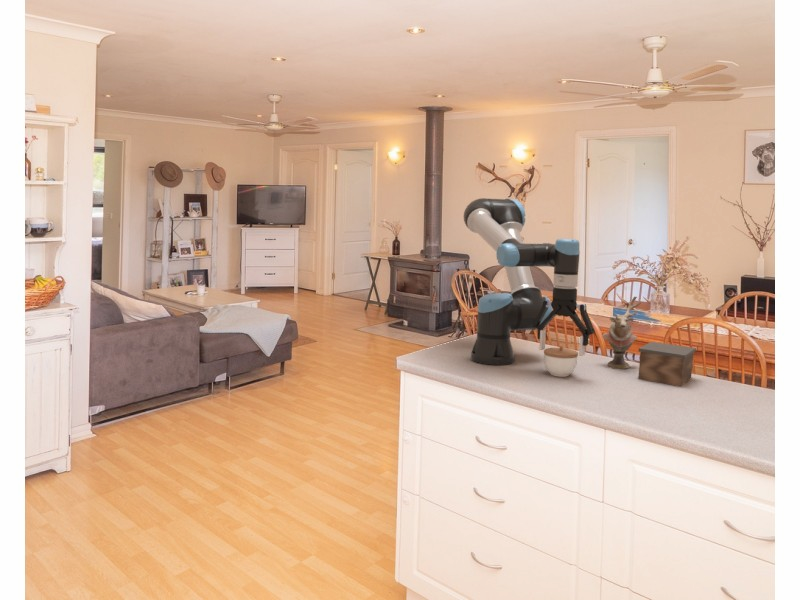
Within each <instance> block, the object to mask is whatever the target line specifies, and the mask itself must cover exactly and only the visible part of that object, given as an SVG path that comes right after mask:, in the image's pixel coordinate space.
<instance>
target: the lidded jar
mask: <svg viewBox="0 0 800 600" xmlns="http://www.w3.org/2000/svg"><path fill="white" fill-rule="evenodd" d="M543 353H544V355H543V360H544V361H543V362H544V367H545V369H546V370H547V371H548V373H549V375H550V376H555V377H558V378H559V377H563V378H564V377H565V378H566V377H569V376H570V375H571V374H572V373H573V372H574V371H575V368H576V366H577V364H578V356H579V351H577V350H575V349H571V348H565V347H563V345H559V347H548V348H545V349H543Z"/></svg>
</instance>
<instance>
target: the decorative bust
mask: <svg viewBox="0 0 800 600" xmlns="http://www.w3.org/2000/svg"><path fill="white" fill-rule="evenodd" d="M637 298H638V297H637V296H633V298H632V299H631V301H630V302H629V304H628V306H627V309H626V312H625V313H624V314H618V313H617V314H616V316H615V317H614V316H610V317H609V321H610V322H611V323H610V325H609V328H608V332H605V333H603V334H602V335H601V336H602V338H603V339H604V340H605V341H607V342H608V344H609V346H610V347H611V348H612V354H614V356H613V359H612V360H610V361H609V362H607V363H606V364H607V366H608V368H612V369H620V370H625V369H627V370H628V369H629V368H630V367H631V366H630V364H629V363H628V362H626V361H625V359H624V358H625V357H624V356H625V355H626V354H627V351H628V350H629V349H630V348H631V346H632V344H633V343H634V342H635V341H636V340H637V338H638V336H637V334H635V333H632V325H631V324H630V323H632V322H633V321H634V318H631V317H633V316H635V315H637V312H632V313H631V311H632V310H634V309H635V308H637V307H639V306H640V305H641V304H642V301H639V302H636V304H634V303H635V301H636V300H637Z"/></svg>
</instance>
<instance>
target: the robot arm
mask: <svg viewBox="0 0 800 600" xmlns="http://www.w3.org/2000/svg"><path fill="white" fill-rule="evenodd" d="M463 222H464V224H465V226H466V228H467V229H469V230H470V231H471V232H473V233H475V234H478V235H479V236H480V237H481V239H483V240H484V241H485V242H486V243H487V244H488V245H489V246H490V247H491V248H492V249H493V250H494V251H495V253H496V255H495V256H496V260H497V263H498V264H499V265H500V266H501V267H504V269H505V273H506V276H507V280H508V284H509V288H510V293H507V292H501V293H499V292H497V293H496V292H494V293H488V294H485V295H482V296H481V297H480V298H479V299H478V305H477V323H476V324H477V325H476V338H475V342H474V345H473V347H472V350H471V352H470V360H471V359H472V360H471V361H473V362H475V361H476V362H475V363H478V362H479V364H483V363H484V365H492V366H494V365H496V366H498V365H499V366H501V365H504V366H505V365H509V364H514V362H515V353H514V349H513V345H512V342H511V331H526V330H527V331H531V330H532V331H537V340H539V346H538V348H539V349H538V350H539V351H544V350H545V349H546V334H547V329H545V328H546V327H547V326H548V325H549V323H550V322H551V321H552V320H553V319H554V318H555V317H556V316H557V317H562V316H563V317H565V318H567V317H569V318H570V319H571V320H572V321H573V323H574V324H575V325H576V327H577V329H578V330H579V331H580V333H581V335H580V336H579V337H580V338H579V351H578V356H579V357H583V356H585V354H586V353H585V352H586V350H585V349H586V346H588V345H589V336H590V335H594V334H595V333H596V330H595V329H594V325H593V323H592V321H591V318H590V316H589V313H588V311H587V304H586V303H581V304H577V299H578V289H577V287H578V286H579V285H578V282H579V281H578V280H579V265H580V253H581V251H580V241H579V240H578V239H576V238H557V239H556V240H555V244H554V243H549V242H548V243H547V242H544V243H524V242H523V239H522V236H521V235H522V234H521V233H522V230H523V228H524V226H525V222H526V210H525V208H524V206H523V204H522V203H521V202H520V201H519V200H517V199H511V198H505V199H504V198H503V199H502V198H484V197H483V198H482V197H481V198H477V199H475V200H472V201H471V202H470V203H469V204H468V205H467V206H466V207H465V209H464V212H463ZM530 267H551V268H553V280H552V281H553V286H554V287H553V289H552V301H551V299H550V298H549V297H548V296H543V295H542V291H541V289H540V288H539V287H537V286H535V282H534V278H533V275H532V272H531V268H530ZM576 310H578V311H579V313H580V315H581V318H582V320H581V318H580V317H579V316H578V313H577V312H576ZM582 321H583V322H582Z"/></svg>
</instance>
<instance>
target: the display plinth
mask: <svg viewBox="0 0 800 600" xmlns="http://www.w3.org/2000/svg"><path fill="white" fill-rule="evenodd" d="M638 352H639V354H640V355H639V365H638V377H637V379H639V380H643V381H650V382H655V383H660V384H665V383H666V384H667V385H671V384H672V386H676V385H677V386H678V387H682V386H683V385H685V384H686V383H687V382H688V381H690V380H691V379H692V374H693V372H692V371H693V365H694V364H693V363H694V354H695V352H697V347H692V346H691V347H690V346H683V345H677V344H671V343H663V342H656V341H650V342H648V343H647V344H644V345H643V346H640V347H639V348H638ZM690 378H691V379H690ZM686 381H687V382H686ZM685 382H686V383H685ZM684 383H685V384H684Z"/></svg>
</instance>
